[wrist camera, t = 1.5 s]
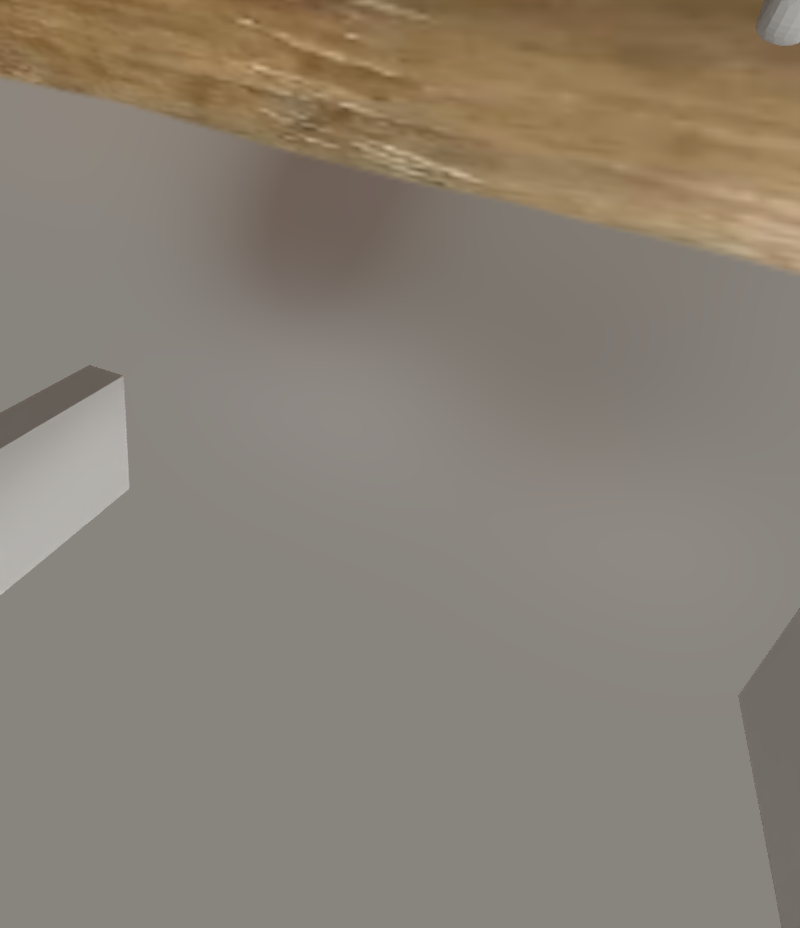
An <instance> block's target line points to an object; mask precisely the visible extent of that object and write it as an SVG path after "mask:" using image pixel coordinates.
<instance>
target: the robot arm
mask: <svg viewBox="0 0 800 928" xmlns="http://www.w3.org/2000/svg"><path fill="white" fill-rule="evenodd" d="M128 489H129V472H128V453H127V434H126V415H125V396H124V376H122V375H119V374H116V373H113V372H110V371H106V370H103V369H100V368H97V367H93V366H90V365H89V366H87V367H85V368H83V369H81V370H80V371H78V372H76V373H74V374H72V375H70V376H68V377H67V378H65V379H63V380H61V381H59V382H57V383H55V384H53V385H52V386H50V387H48V388H46V389H44V390H42V391H40V392H39V393H36V394H35V395H33V396H31V397H29V398H27V399H25V400H24V401H22V402H20V403H18V404H16V405H14V406H12V407H10V408H8V409H7V410H5V411H3V412H1V413H0V595H1V594H2V593H3V592H5V591H6V590H7V589H8V588H10V587H11V586H12V585H13V584H14V583H15V582H17V581H18V580H19V579H20V578H22V577H23V576H24V575H25V574H27V573H28V572H29V571H30V570H31V569H33V568H34V567H35V566H36V565H37V564H39V563H40V562H41V561H42V560H43V559H45V558H46V557H47V556H48V555H50V554H51V553H52V552H53V551H54V550H56V549H57V548H58V547H59V546H60V545H62V544H63V543H64V542H65V541H66V540H67V539H69V538H70V537H71V536H72V535H74V533H76V532H77V531H78V530H80V529H81V528H82V527H83V526H85V525H86V524H87V523H88V522H89V521H91V520H92V519H93V518H94V517H95V516H97V515H98V514H99V513H100V512H101V511H103V510H104V509H105V508H106V507H108V505H110V504H111V503H112V502H113V501H115V500H116V499H117V498H118V497H120V496H121V495H122V494H123V493H124V492H125V491H127V490H128ZM738 697H739V702H740V708H741V713H742V718H743V724H744V729H745V734H746V740H747V745H748V750H749V756H750V761H751V767H752V772H753V777H754V783H755V788H756V793H757V798H758V804H759V809H760V815H761V820H762V825H763V831H764V836H765V841H766V847H767V852H768V858H769V862H770V868H771V874H772V879H773V884H774V890H775V895H776V900H777V906H778V911H779V916H780V922H781V927H782V928H800V608H799V610H798V611H797V613H796V614H795V615H794V617H793V618H792V620H791V621H790V623H789V624H788V625H787V627H786V628H785V630H784V631H783V633H782V634H781V636H780V637H779V638H778V640H777V641H776V643H775V644H774V646H773V647H772V648H771V650H770V651H769V653H768V654H767V655H766V657H765V658H764V660H763V661H762V663H761V664H760V666H759V667H758V669H757V670H756V671H755V673H754V674H753V675H752V677H751V679H750V680H749V681H748V683H747V684H746V686H745V687H744V688H743V690H742V691H741V693H740V694H739V695H738Z"/></svg>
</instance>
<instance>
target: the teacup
mask: <svg viewBox="0 0 800 928" xmlns="http://www.w3.org/2000/svg"><path fill="white" fill-rule="evenodd" d="M756 29H757V33H758V35H759V36H760V37H761V38H762V39H763V40H765V41H768V42H770V43H772V44H777V45H782V46H785V45H794V44H797V43H799V42H800V0H764V2H763V5H762V8H761V11H760V14H759V17H758V20H757V24H756Z"/></svg>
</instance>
